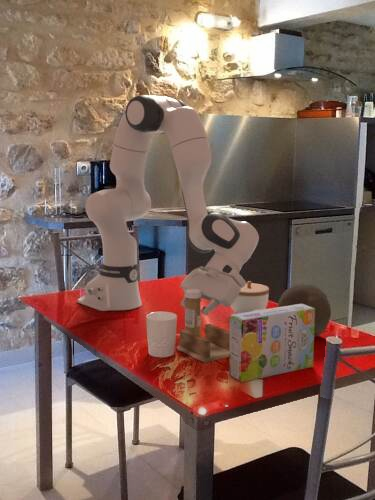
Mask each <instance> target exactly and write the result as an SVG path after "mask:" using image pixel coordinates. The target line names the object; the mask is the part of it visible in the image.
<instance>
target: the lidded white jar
mask: <svg viewBox="0 0 375 500" xmlns="http://www.w3.org/2000/svg"><path fill="white" fill-rule="evenodd" d="M269 293H270V288H269V286H268V285H264V284H260V283H254V282H252V281H251V280H248V281H247V282H246V284H245V286H244V287H243V288H241V291H240V293H239V295H238V296H237V298H236V299H235V301H234V302H233V303H232V304H231V305H230V307H231V309H232V311H233V312H234V314H238V313H245V312H251V311H254V310H264V309H267V306H268V302H269Z"/></svg>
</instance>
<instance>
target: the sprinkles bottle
mask: <svg viewBox="0 0 375 500" xmlns="http://www.w3.org/2000/svg"><path fill="white" fill-rule="evenodd" d="M184 293H185V307H184V325H185V326H184V327H185V328H184V329H185V330H187V331H189V332H192V333H194V334H196V335H199V336H201V337H202V335H201V320H202V319H201V313H202V312H201V310H202V309H201V299H202V298H201V290H199V289H187V290H185V291H184Z"/></svg>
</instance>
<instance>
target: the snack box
mask: <svg viewBox="0 0 375 500" xmlns="http://www.w3.org/2000/svg"><path fill="white" fill-rule="evenodd" d="M314 322H315V308H312V307H310V306H307V305H304V304H296V305H290V306H283V307H278V306H277V307H272V308H271V307H270V308H266V309H264V310H258V311H251V312H245V313H238V314H236V313H234V314H233V313H232V314H230V315H229V332H230V346H229V357H228V362H229V364H228V365H229V367H228V369H229V370H228V373H229V374H228V375H229V377H231V378H233V379H235V380H237V381H238V382H240V383H244V382H249V381H253V380H254V381H255V380H258V379H262V378H268V377H271V376H277V375H281V374H285V373H290V372H295V371H299V370H303V369H309V368H313V367H314V351H315V350H314V349H315V347H314V345H315V337H314Z"/></svg>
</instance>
